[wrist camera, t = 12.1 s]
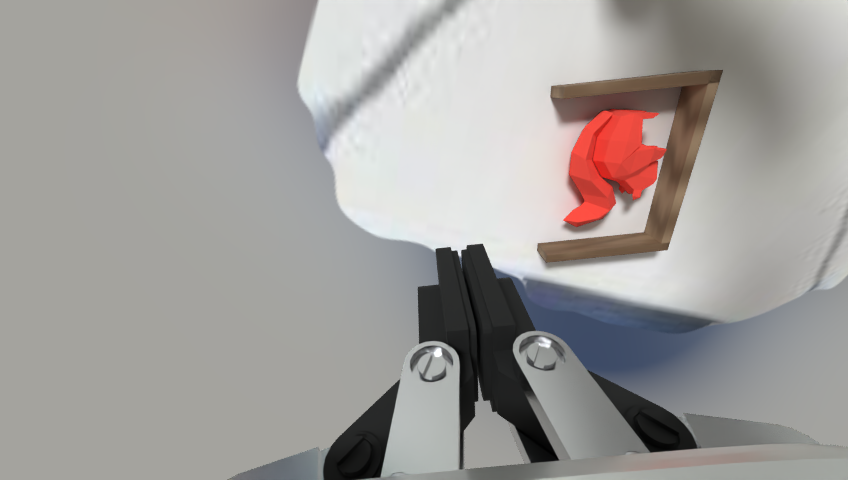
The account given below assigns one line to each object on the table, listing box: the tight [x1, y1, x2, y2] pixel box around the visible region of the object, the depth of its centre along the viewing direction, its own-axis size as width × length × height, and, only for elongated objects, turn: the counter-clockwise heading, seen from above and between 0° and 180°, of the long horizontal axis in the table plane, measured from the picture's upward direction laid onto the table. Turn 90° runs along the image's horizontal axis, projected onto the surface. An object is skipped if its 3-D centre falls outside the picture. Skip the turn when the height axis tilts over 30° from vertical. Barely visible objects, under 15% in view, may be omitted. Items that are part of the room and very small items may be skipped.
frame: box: [537, 70, 723, 263], centre depth 40 cm, size 22×17×4 cm
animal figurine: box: [564, 109, 667, 227], centre depth 40 cm, size 12×15×5 cm
